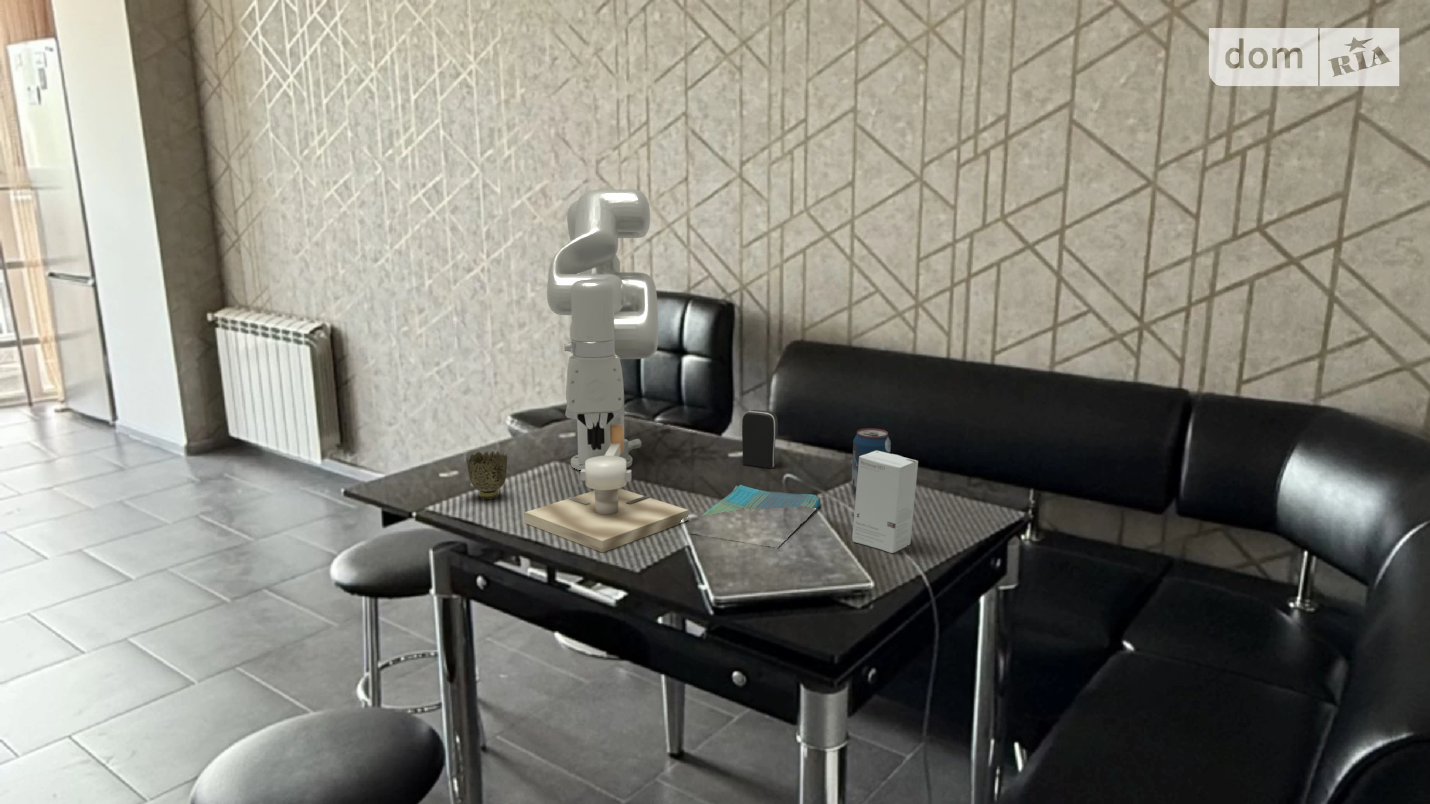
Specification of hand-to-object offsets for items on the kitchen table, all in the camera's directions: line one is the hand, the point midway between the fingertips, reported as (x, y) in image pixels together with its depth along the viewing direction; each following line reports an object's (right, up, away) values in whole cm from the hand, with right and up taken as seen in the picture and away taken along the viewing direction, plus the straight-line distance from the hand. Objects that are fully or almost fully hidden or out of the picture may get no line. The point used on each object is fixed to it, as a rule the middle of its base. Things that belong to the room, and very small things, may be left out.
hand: (596, 447), depth 190 cm
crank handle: (+3, -4, -6) cm, 8 cm away
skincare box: (+49, -15, -18) cm, 55 cm away
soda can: (+51, -9, +6) cm, 52 cm away
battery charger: (+31, -5, +24) cm, 40 cm away
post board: (+3, -12, -9) cm, 16 cm away
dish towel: (+29, -13, -7) cm, 32 cm away
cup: (-20, -10, +4) cm, 23 cm away
